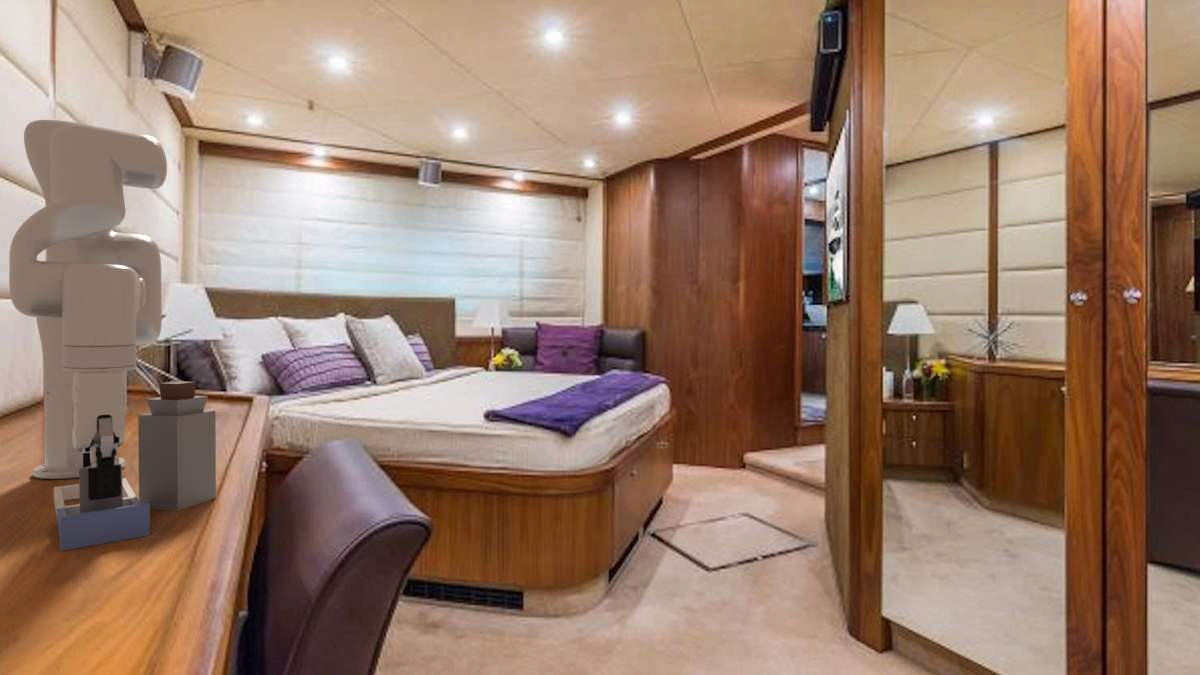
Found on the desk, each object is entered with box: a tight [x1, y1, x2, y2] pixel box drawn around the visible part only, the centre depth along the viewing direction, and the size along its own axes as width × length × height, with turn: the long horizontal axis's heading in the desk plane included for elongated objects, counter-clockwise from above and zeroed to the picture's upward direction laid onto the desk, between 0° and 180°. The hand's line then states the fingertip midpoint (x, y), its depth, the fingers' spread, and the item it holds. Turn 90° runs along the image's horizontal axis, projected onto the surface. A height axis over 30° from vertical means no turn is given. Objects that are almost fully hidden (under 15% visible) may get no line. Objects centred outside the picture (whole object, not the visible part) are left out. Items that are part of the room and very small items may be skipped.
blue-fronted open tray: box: [53, 477, 151, 552], centre depth 87 cm, size 26×9×4 cm, turn 42°
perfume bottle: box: [137, 380, 217, 512], centre depth 94 cm, size 7×7×18 cm
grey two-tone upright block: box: [78, 465, 123, 513], centre depth 82 cm, size 4×4×8 cm
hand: (101, 489), depth 83 cm, fingers open, 9 cm apart
